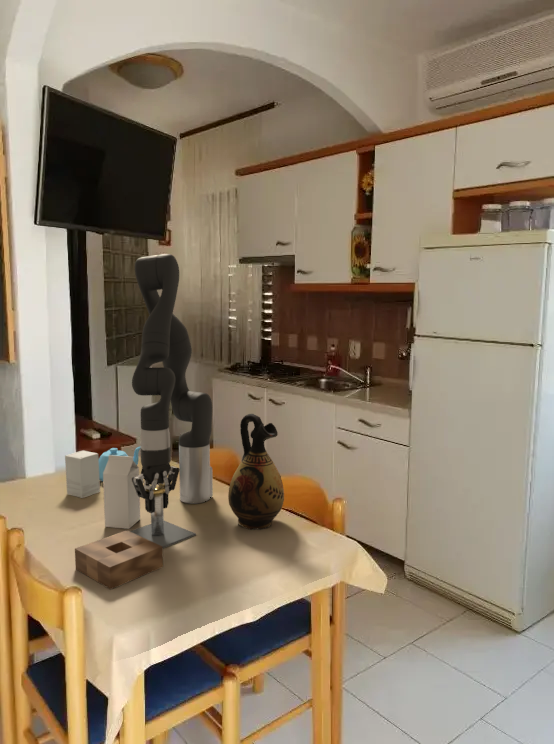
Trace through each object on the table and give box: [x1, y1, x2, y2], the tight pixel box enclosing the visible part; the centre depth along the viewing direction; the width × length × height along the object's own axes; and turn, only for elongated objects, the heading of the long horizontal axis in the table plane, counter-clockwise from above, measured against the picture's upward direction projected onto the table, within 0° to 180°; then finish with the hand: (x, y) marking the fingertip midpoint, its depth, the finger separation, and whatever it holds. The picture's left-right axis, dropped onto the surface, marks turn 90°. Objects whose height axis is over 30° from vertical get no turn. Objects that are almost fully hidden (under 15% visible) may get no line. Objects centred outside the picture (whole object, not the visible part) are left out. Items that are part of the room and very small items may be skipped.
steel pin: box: [148, 485, 165, 535], centre depth 155 cm, size 4×4×12 cm
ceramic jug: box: [227, 413, 285, 531], centre depth 163 cm, size 17×15×30 cm
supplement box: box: [64, 450, 101, 499], centre depth 187 cm, size 7×7×13 cm
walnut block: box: [74, 529, 164, 590], centre depth 137 cm, size 14×14×5 cm
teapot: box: [98, 445, 141, 482], centre depth 203 cm, size 15×15×10 cm
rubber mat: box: [129, 520, 197, 549], centre depth 155 cm, size 14×14×1 cm
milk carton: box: [103, 455, 141, 530], centre depth 162 cm, size 7×7×19 cm
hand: (157, 509), depth 154 cm, fingers open, 3 cm apart
